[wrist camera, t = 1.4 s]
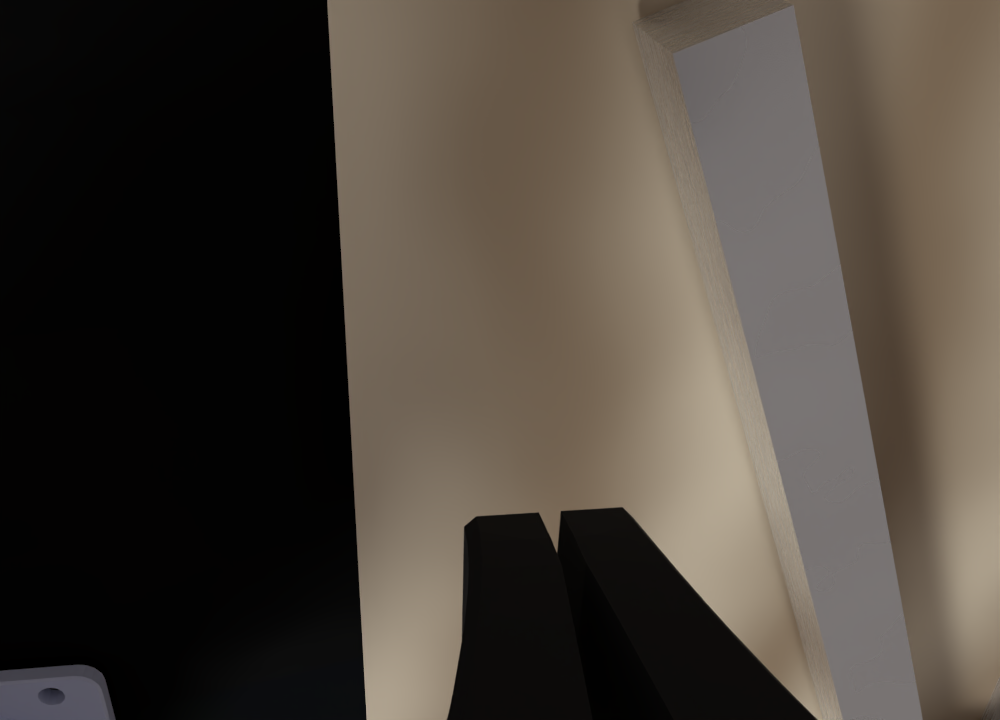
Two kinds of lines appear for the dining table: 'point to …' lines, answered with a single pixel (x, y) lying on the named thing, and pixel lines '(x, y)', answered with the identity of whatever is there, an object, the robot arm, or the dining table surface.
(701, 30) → the bar
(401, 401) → the board
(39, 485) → the dining table surface
